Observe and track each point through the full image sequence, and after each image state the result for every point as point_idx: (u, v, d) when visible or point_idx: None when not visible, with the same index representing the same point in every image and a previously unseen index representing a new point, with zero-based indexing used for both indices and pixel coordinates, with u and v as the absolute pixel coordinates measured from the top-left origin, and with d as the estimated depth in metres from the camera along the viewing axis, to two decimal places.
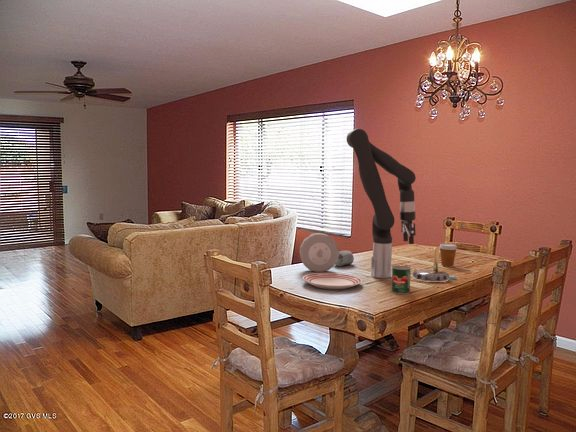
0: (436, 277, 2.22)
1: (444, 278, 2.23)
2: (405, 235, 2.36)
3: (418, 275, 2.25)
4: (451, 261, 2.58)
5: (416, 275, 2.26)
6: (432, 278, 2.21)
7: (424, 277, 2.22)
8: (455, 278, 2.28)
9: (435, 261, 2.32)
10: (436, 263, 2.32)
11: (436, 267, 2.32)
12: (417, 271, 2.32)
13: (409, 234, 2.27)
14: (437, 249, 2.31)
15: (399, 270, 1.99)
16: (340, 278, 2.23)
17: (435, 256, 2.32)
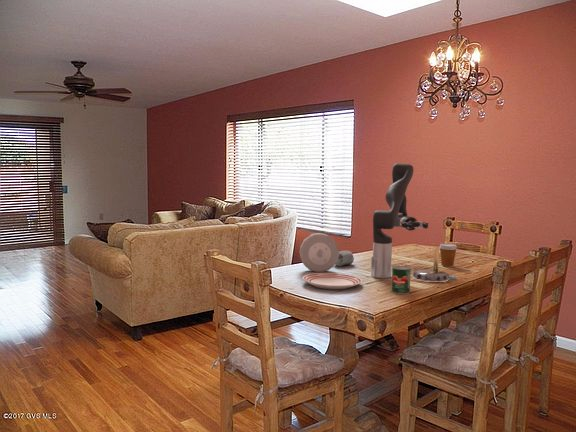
0: (436, 277, 2.22)
1: (444, 278, 2.23)
2: None
3: (418, 275, 2.25)
4: (451, 261, 2.58)
5: (416, 275, 2.26)
6: (432, 278, 2.21)
7: (424, 277, 2.22)
8: (455, 278, 2.28)
9: (435, 261, 2.32)
10: (436, 263, 2.32)
11: (436, 267, 2.32)
12: (417, 271, 2.32)
13: (424, 223, 2.47)
14: (437, 249, 2.31)
15: (399, 270, 1.99)
16: (340, 278, 2.23)
17: (435, 256, 2.32)
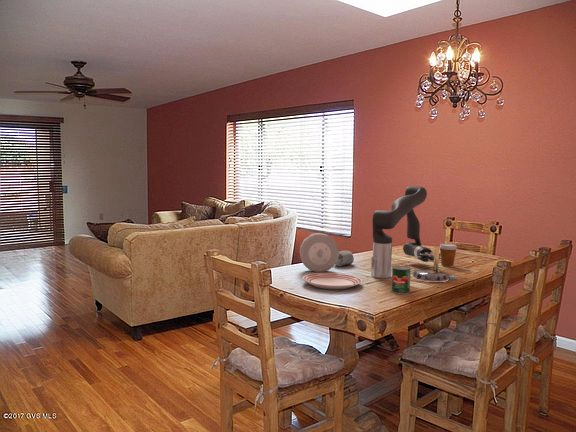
0: (436, 277, 2.22)
1: (444, 278, 2.23)
2: None
3: (418, 275, 2.25)
4: (451, 261, 2.58)
5: (416, 275, 2.26)
6: (432, 278, 2.21)
7: (424, 277, 2.22)
8: (455, 278, 2.28)
9: (435, 261, 2.32)
10: (436, 263, 2.32)
11: (436, 267, 2.32)
12: (417, 271, 2.32)
13: None
14: (437, 249, 2.31)
15: (399, 270, 1.99)
16: (340, 278, 2.23)
17: (435, 256, 2.32)
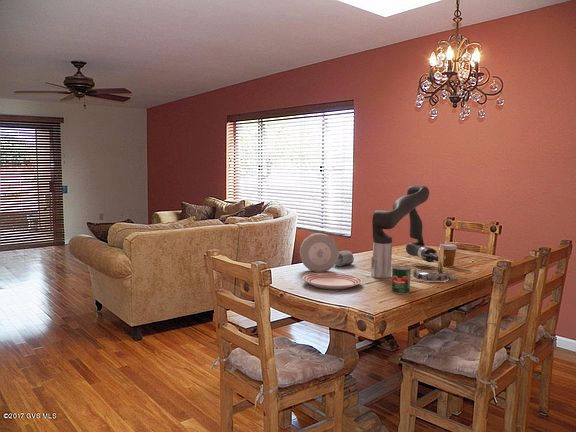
0: (429, 277, 2.22)
1: (439, 279, 2.22)
2: None
3: (414, 273, 2.29)
4: (451, 261, 2.58)
5: (413, 273, 2.29)
6: (424, 277, 2.22)
7: (417, 276, 2.25)
8: (455, 278, 2.28)
9: (439, 262, 2.30)
10: (440, 264, 2.30)
11: (440, 268, 2.30)
12: (420, 270, 2.34)
13: None
14: (441, 250, 2.29)
15: (399, 270, 1.99)
16: (340, 278, 2.23)
17: (439, 257, 2.30)
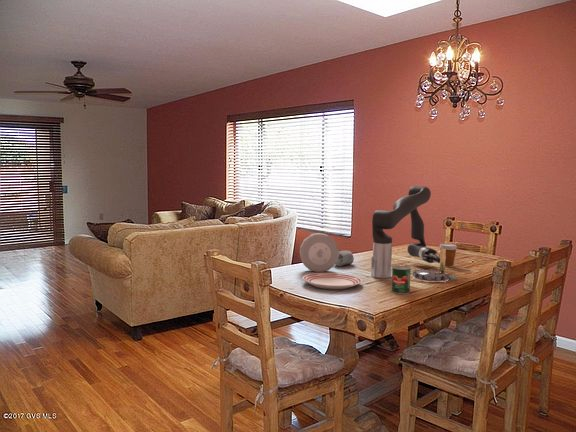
0: (425, 276, 2.23)
1: (435, 279, 2.21)
2: None
3: (414, 273, 2.31)
4: (451, 261, 2.58)
5: (413, 272, 2.32)
6: (420, 276, 2.24)
7: (415, 275, 2.27)
8: (455, 278, 2.28)
9: (440, 262, 2.29)
10: (441, 264, 2.28)
11: (441, 268, 2.28)
12: (422, 270, 2.35)
13: None
14: (442, 250, 2.28)
15: (399, 270, 1.99)
16: (340, 278, 2.23)
17: (440, 257, 2.29)
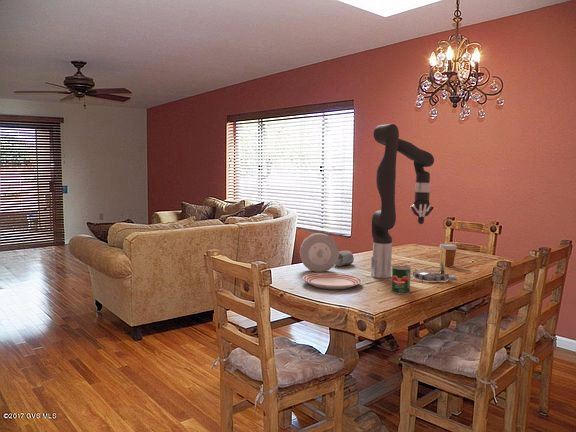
0: (425, 276, 2.23)
1: (435, 279, 2.21)
2: None
3: (414, 273, 2.31)
4: (451, 261, 2.58)
5: (413, 272, 2.32)
6: (420, 276, 2.24)
7: (415, 275, 2.27)
8: (455, 278, 2.28)
9: (440, 262, 2.29)
10: (441, 264, 2.28)
11: (441, 268, 2.28)
12: (422, 270, 2.35)
13: (424, 215, 2.45)
14: (442, 250, 2.28)
15: (399, 270, 1.99)
16: (340, 278, 2.23)
17: (440, 257, 2.29)
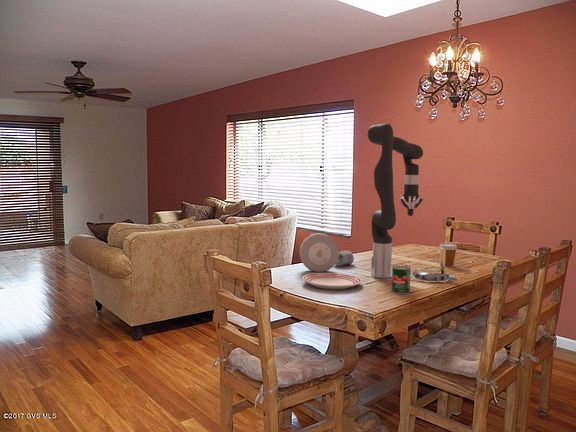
0: (425, 276, 2.23)
1: (435, 279, 2.21)
2: None
3: (414, 273, 2.31)
4: (451, 261, 2.58)
5: (413, 272, 2.32)
6: (420, 276, 2.24)
7: (415, 275, 2.27)
8: (455, 278, 2.28)
9: (440, 262, 2.29)
10: (441, 264, 2.28)
11: (441, 268, 2.28)
12: (422, 270, 2.35)
13: (413, 207, 2.48)
14: (442, 250, 2.28)
15: (399, 270, 1.99)
16: (340, 278, 2.23)
17: (440, 257, 2.29)
